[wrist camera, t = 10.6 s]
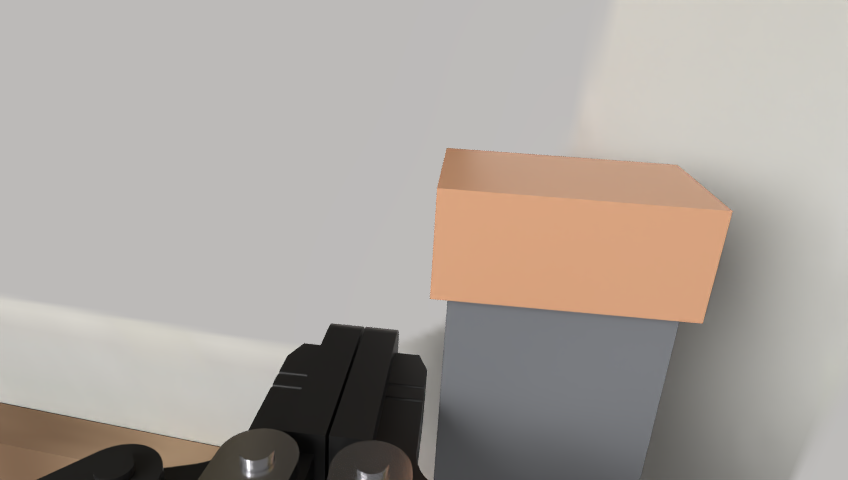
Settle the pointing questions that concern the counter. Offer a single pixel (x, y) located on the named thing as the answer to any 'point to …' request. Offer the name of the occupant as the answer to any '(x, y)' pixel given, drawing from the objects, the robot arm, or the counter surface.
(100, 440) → the label board
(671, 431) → the counter surface
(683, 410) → the counter surface
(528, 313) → the swing arm
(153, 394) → the counter surface
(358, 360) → the robot arm
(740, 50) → the counter surface
